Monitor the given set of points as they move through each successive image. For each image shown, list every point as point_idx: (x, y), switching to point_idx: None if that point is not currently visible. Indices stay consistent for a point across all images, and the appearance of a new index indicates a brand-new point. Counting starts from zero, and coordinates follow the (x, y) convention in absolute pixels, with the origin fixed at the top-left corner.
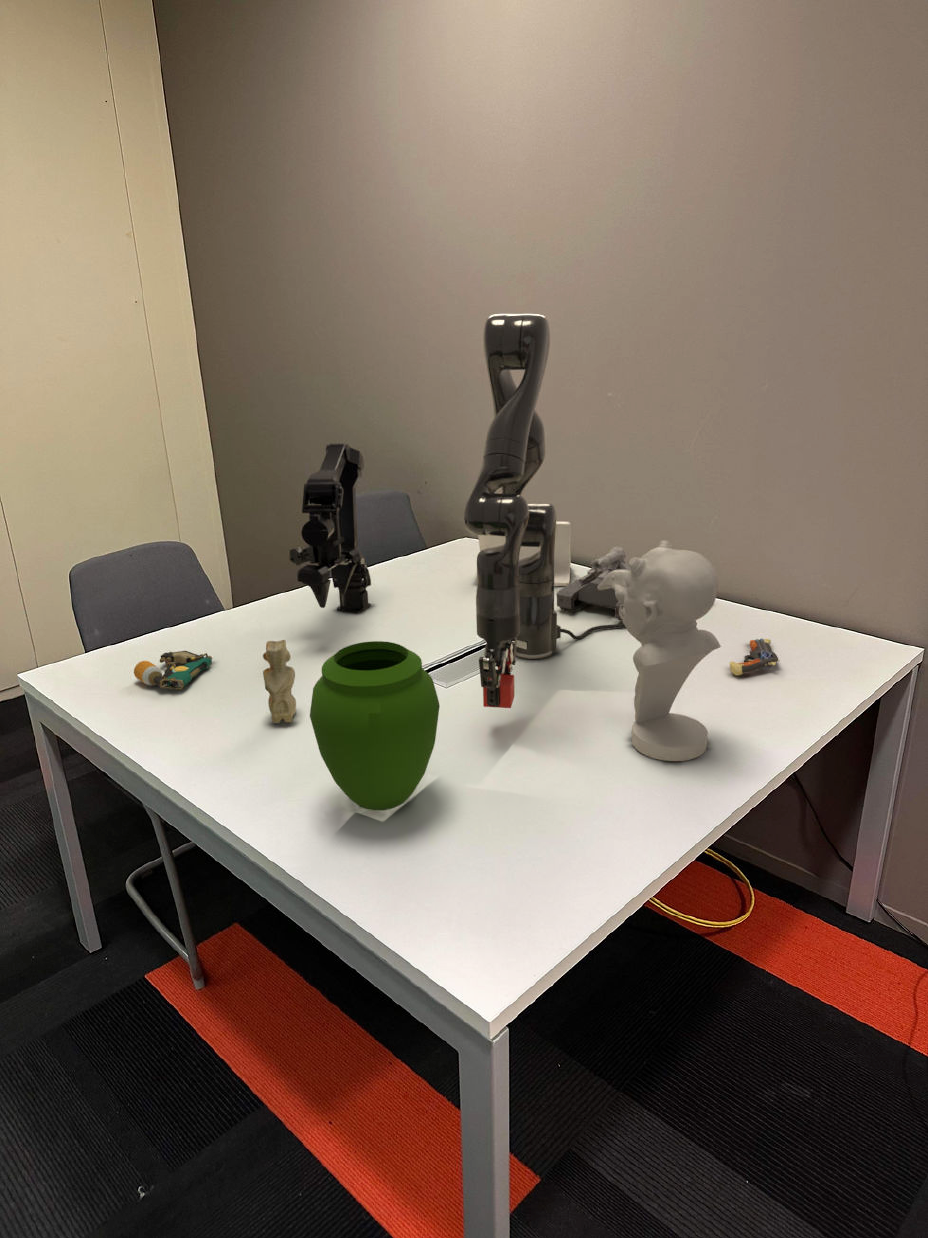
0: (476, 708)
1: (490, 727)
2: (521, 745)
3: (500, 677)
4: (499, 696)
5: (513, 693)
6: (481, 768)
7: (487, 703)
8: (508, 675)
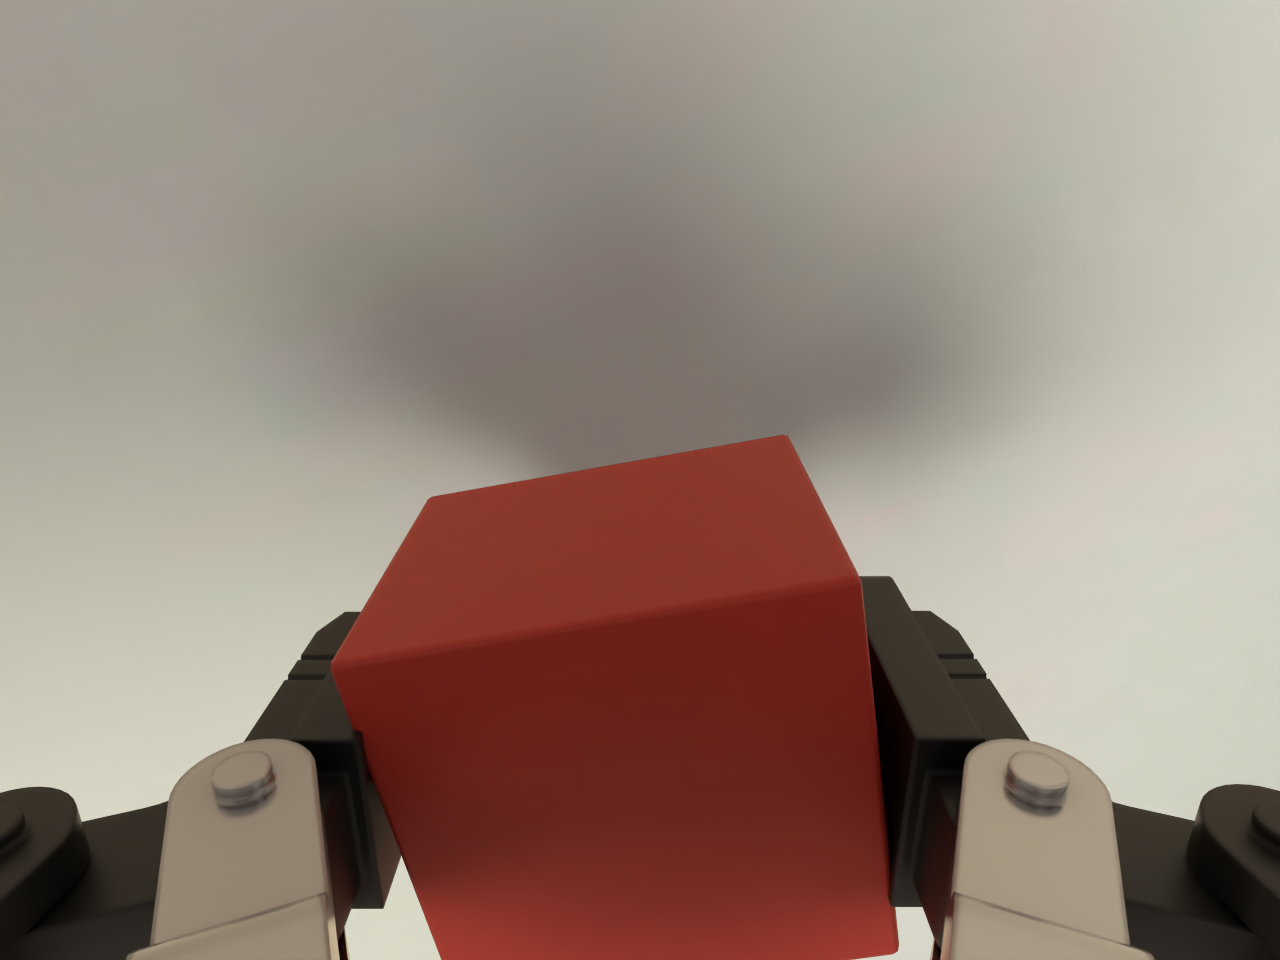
0: None
1: None
2: (836, 211)
3: (992, 872)
4: (907, 640)
5: (510, 511)
6: (1269, 411)
7: None
8: (398, 742)
